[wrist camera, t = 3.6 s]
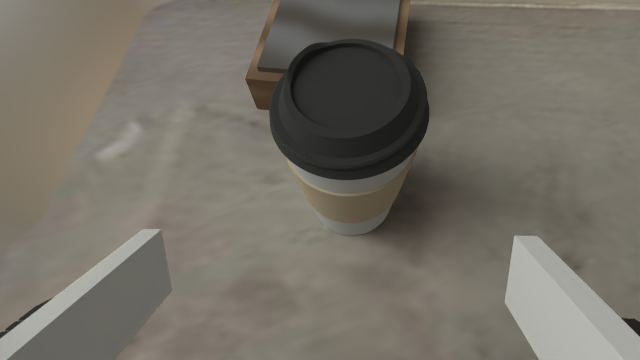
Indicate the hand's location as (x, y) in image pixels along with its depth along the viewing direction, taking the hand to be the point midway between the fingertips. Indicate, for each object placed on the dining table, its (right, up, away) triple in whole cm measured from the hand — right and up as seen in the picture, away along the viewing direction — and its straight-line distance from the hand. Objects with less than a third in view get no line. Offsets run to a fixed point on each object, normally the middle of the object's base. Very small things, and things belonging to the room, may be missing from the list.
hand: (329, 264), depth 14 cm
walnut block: (+1, +16, +25) cm, 30 cm away
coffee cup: (+3, +1, +18) cm, 19 cm away
